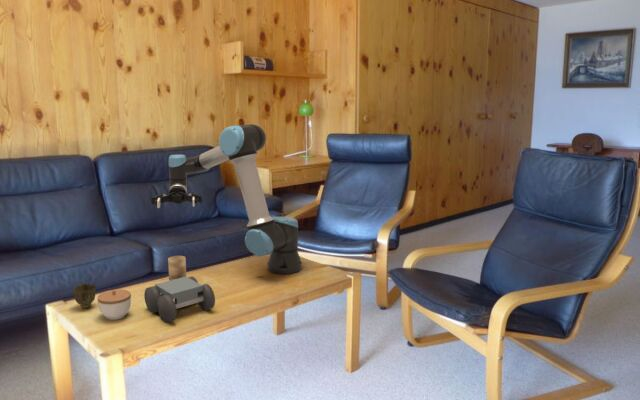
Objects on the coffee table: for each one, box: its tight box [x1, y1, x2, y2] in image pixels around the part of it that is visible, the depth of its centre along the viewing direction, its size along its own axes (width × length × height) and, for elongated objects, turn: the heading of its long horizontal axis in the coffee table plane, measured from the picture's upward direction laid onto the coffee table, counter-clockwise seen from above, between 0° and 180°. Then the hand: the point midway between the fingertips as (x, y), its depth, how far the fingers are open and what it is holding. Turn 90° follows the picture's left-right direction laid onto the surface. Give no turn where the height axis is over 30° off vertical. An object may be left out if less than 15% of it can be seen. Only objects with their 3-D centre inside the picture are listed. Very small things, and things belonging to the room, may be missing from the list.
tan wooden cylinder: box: [167, 255, 187, 281], centre depth 201 cm, size 6×6×14 cm
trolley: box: [143, 276, 216, 323], centre depth 186 cm, size 17×19×10 cm
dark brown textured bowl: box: [72, 282, 97, 310], centre depth 187 cm, size 8×7×8 cm
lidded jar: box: [96, 288, 132, 321], centre depth 181 cm, size 11×11×9 cm
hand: (176, 204), depth 210 cm, fingers open, 13 cm apart
